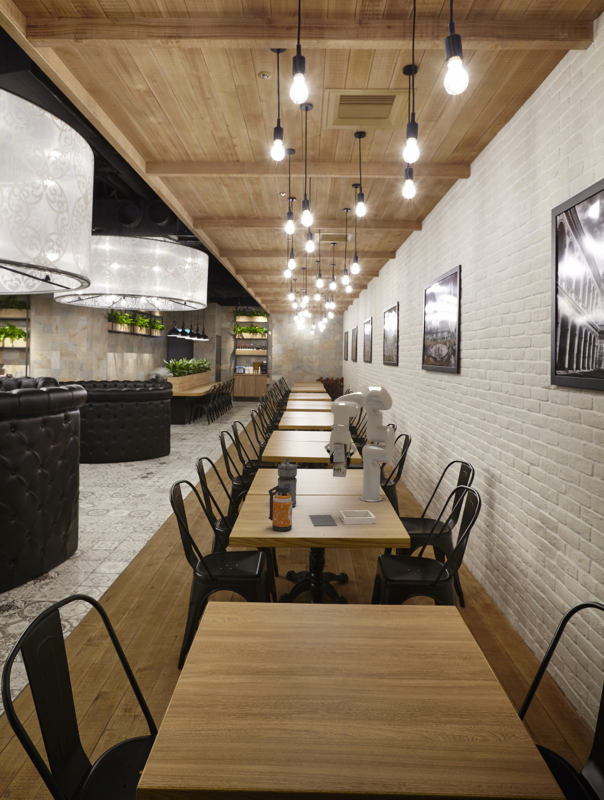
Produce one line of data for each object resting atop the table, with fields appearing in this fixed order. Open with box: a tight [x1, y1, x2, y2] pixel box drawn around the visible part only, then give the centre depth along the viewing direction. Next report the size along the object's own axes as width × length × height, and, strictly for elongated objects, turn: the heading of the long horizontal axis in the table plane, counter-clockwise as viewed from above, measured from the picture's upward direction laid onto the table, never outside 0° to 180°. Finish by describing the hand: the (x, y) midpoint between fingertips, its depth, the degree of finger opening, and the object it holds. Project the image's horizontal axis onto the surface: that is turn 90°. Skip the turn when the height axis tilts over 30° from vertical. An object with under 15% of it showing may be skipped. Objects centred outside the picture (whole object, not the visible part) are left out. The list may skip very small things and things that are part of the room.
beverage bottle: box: [277, 458, 298, 508], centre depth 270 cm, size 10×13×25 cm
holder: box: [338, 509, 377, 525], centre depth 249 cm, size 12×15×3 cm
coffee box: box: [332, 443, 348, 478], centre depth 245 cm, size 9×6×16 cm
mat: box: [308, 514, 338, 527], centre depth 247 cm, size 16×11×1 cm
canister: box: [268, 484, 293, 532], centre depth 233 cm, size 9×11×20 cm
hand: (340, 463), depth 245 cm, fingers closed on coffee box, 7 cm apart
